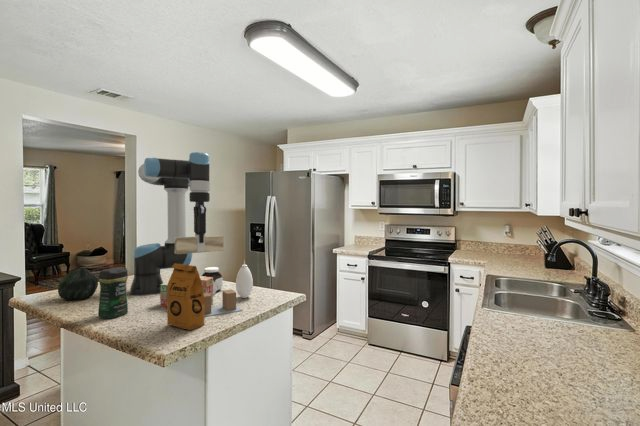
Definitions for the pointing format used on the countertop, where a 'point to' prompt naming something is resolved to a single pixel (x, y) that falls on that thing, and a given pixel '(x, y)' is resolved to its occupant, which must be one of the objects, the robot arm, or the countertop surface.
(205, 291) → the stack of blocks
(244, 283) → the sauce bottle
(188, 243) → the bar
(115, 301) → the coffee jar
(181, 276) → the coffee package
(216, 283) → the spread jar
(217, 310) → the build board
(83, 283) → the squash
